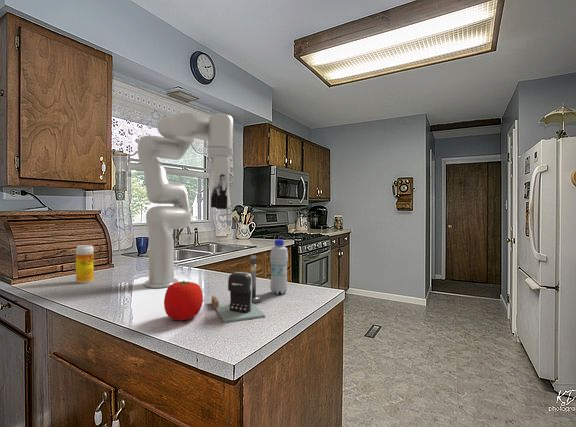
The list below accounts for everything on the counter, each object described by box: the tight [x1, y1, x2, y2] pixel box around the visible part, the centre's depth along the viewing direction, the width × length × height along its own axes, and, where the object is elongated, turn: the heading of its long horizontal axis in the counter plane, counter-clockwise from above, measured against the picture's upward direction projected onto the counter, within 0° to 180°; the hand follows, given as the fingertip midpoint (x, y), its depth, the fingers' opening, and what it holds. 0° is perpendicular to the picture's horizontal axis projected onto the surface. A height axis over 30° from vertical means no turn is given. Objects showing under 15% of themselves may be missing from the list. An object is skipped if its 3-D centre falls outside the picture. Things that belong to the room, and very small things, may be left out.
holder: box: [211, 295, 220, 310], centre depth 103 cm, size 7×10×2 cm
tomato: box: [163, 280, 204, 321], centre depth 90 cm, size 10×11×11 cm
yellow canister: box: [75, 244, 95, 285], centre depth 130 cm, size 6×6×15 cm
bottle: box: [269, 238, 289, 295], centre depth 117 cm, size 7×7×20 cm
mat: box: [215, 303, 266, 324], centre depth 95 cm, size 12×12×1 cm
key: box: [250, 254, 257, 298], centre depth 103 cm, size 2×13×14 cm, turn 5°
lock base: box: [252, 294, 262, 305], centre depth 106 cm, size 5×5×2 cm
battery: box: [227, 271, 252, 312], centre depth 95 cm, size 7×4×11 cm, turn 70°
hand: (218, 208), depth 101 cm, fingers open, 9 cm apart
